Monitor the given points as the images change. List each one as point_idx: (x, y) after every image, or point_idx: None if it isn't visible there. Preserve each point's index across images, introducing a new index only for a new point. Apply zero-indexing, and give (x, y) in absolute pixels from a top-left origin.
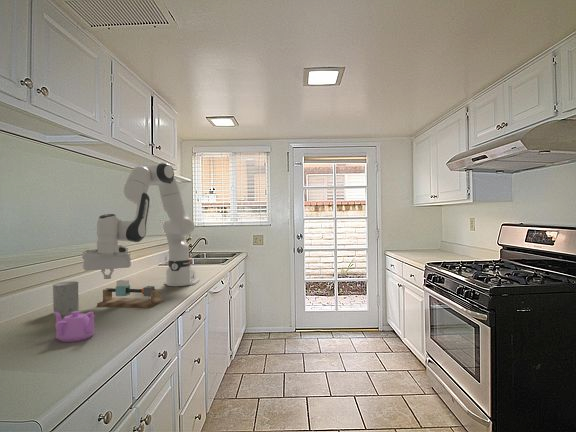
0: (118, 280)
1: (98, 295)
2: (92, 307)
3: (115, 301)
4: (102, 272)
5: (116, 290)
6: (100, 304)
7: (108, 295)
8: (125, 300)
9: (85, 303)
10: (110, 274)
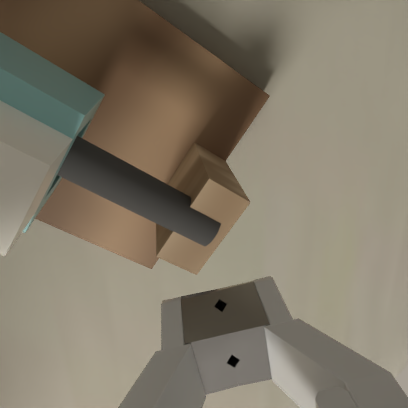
0: (22, 206)
1: (247, 397)
2: (300, 48)
3: (117, 100)
4: (366, 360)
5: (83, 99)
6: (242, 76)
7: (184, 179)
8: None
9: (332, 218)
10: (174, 351)
